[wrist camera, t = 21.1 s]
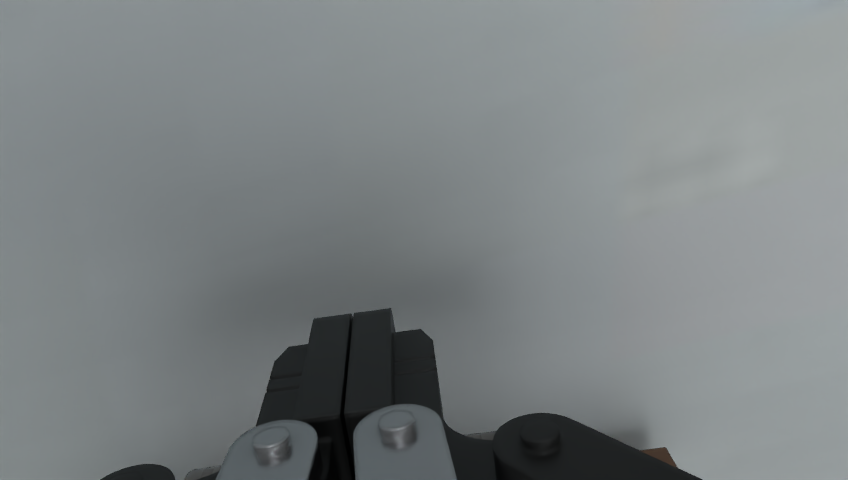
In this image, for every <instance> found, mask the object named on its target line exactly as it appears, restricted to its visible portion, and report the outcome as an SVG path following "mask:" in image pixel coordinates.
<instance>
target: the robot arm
mask: <svg viewBox="0 0 848 480" xmlns="http://www.w3.org/2000/svg"><path fill="white" fill-rule="evenodd" d="M101 480H175V478H174V475H173V473H172V472H171V471H170V470H169V469H168V468H166V467H164V466H161V465H156V464H142V465H136V466H131V467H127V468H124V469H121V470H119V471H116V472H114V473H112V474H109V475H107V476H106V477H104V478H102V479H101ZM197 480H702V479H700V478H698V477H696V476H694V475H691V474H689V473H687V472H685V471H683V470H681V469H678V468H676V467H674V466H672V465H670V464H668V463H665V462H663V461H661V460H659V459H657V458H655V457H652V456H650V455H648V454H646V453H644V452H642V451H639V450H637V449H635V448H633V447H631V446H629V445H626V444H624V443H622V442H620V441H618V440H616V439H613V438H611V437H609V436H607V435H605V434H603V433H600V432H598V431H596V430H594V429H592V428H590V427H587V426H585V425H583V424H581V423H579V422H577V421H574V420H572V419H570V418H567V417H565V416H561V415H557V414H550V413H535V414H528V415H523V416H520V417H517V418H514V419H512V420H510V421H508V422H506V423H505V424H503V425H502V426H501V427H500V428H499V429H498V430H497V431H496V433H495V435H494V437H493V440H484V439H476V438H471V437H467V436H464V435H462V434H459V433H457V432H455V431H454V430H452V429H451V428H450V427H449V426H448V425H447V424H446V423H445V421H444V419H443V412H442V404H441V397H440V389H439V382H438V374H437V367H436V360H435V352H434V345H433V340H432V339H431V338H430V337H429V336H428V335H426V334H425V333H424V332H423V331H422V330H421V329H417V330H410V331H402V332H395V327H394V320H393V314H392V310H391V308H388V309H381V310H373V311H366V312H358V313H354V315H353V316H352V314H344V315H336V316H329V317H321V318H314V319H313V323H312V328H311V333H310V338H309V343H308V344H305V345H298V346H290V347H288V348H287V349H286V350H285V351H284V352H283V353H282V355H281V356H280V357H279V358H278V359H277V360H276V361H275V362H274V365H273V369H272V372H271V376H270V380H269V383H268V386H267V393H265V397H264V400H263V404H262V407H261V411H260V414H259V418H258V421H257V425H256V427H254V428H252V429H250V430H249V431H247V432H245V433H244V434H242V435H241V436H240V437H239V438H238V439H236V440H235V441H234V443H233V444H232V445H231V447H230V449H229V450H228V453H227V455H226V457H225V459H224V462H223V464H222V466H221V468H220V471H218V472H216V473H213V474H211V475H208V476H206V477H203V478H200V479H197Z"/></svg>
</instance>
